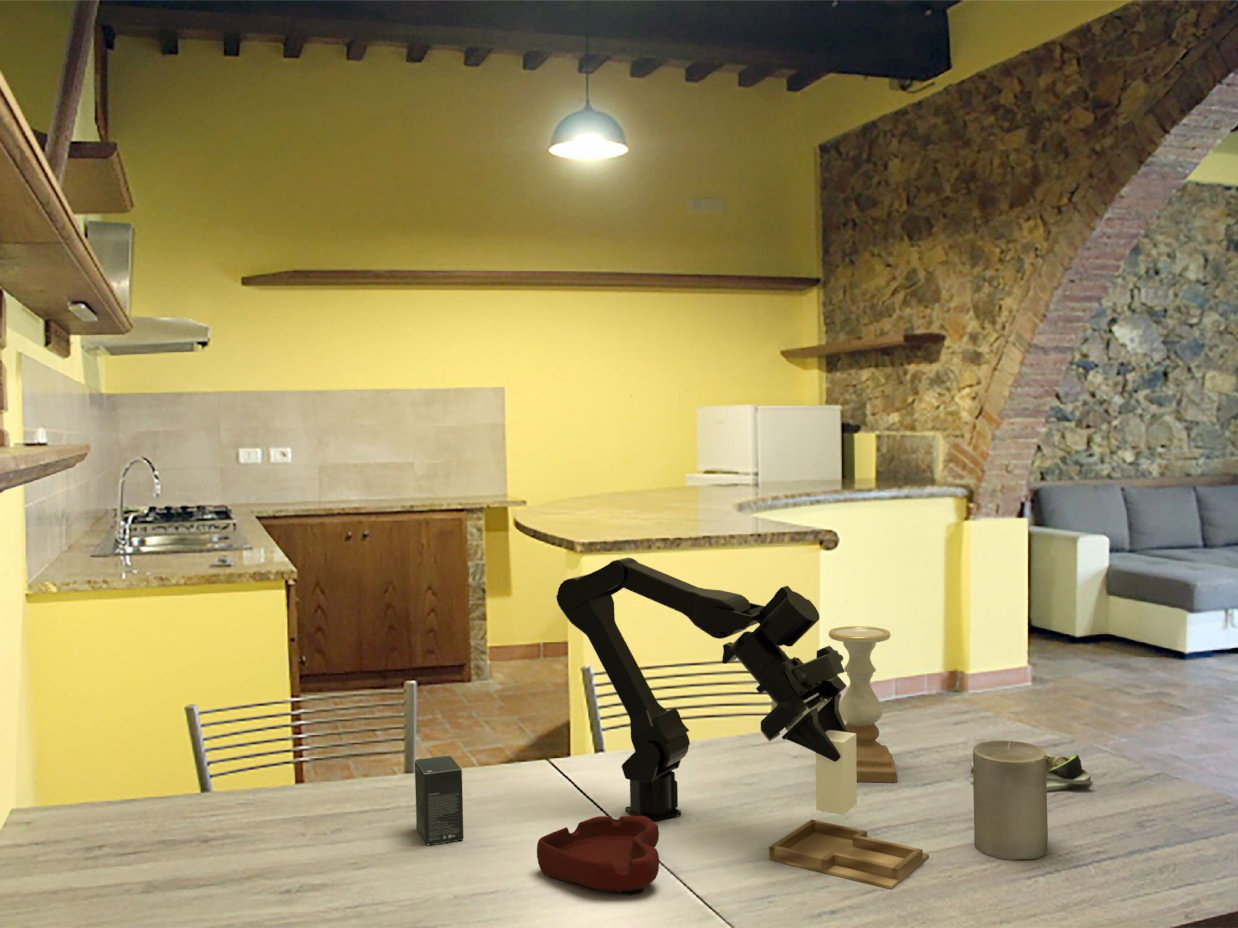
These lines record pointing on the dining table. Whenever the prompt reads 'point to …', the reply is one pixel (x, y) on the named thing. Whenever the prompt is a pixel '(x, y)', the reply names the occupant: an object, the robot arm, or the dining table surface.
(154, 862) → the dining table surface
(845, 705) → the candle holder
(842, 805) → the panel block
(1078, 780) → the salad plate
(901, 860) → the keyhole frame
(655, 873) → the ashtray
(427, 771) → the box
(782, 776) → the dining table surface
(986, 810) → the pillar candle
